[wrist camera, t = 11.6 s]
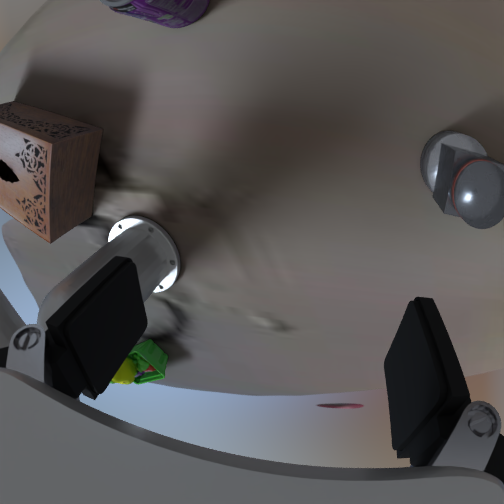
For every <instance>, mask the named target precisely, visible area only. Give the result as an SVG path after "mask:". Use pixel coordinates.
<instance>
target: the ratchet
mask: <svg viewBox="0 0 504 504" xmlns="http://www.w3.org/2000/svg"><path fill="white" fill-rule="evenodd" d="M441 143H443V144H447V145H451V146H455V147H458V148H462V149H466V150H469V151H472V152H476V153H479V154H482V155H486V156H487V153H486V151H485V150H484V148H483V147H482V145H481V144H480V143H479V142H478V141H477V140H475V139H474V138H472V137H470V136H468V135H465V134H462V133H459V132H456V131H442V132H439V133H437V134H435V135H434V136H433V137H431V138H430V139H429V141H428V142H427V143H426V145H425V147H424V149H423V151H422V155H421V161H420V168H421V173H422V177H423V180H424V182H425V183H426V185H427V186H428V188H429V189H430V190H431V191H432V192H434V186H435V181H436V175H437V169H438V163H439V156H440V149H441Z"/></svg>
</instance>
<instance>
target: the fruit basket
mask: <svg viewBox="0 0 504 504" xmlns="http://www.w3.org/2000/svg"><path fill="white" fill-rule="evenodd" d="M167 360H168V355H167V354H165V353H164V352H163V351H162V350H161V349H160V348H159V347H158V346H157V345H156V344H155V343H154V342H153V341H152V340H151V339H149V340H147V341H145V342H142V343H140V344H139V345H135V346H134V347H133V349H132V350H131V352H130V353H129V355H128V356H127V358H126V359H125V361H124V362H123V364H122V365H121V367H120V368H119V370H118V371H117V373H116V374H115V376H114V377H113V379H112V380H111V382H110V383H120V384H131V383H132V382H134V383H135V384H142V383H146V382H151V381H155V380H159V379H163V378H165V369H166V364H167Z"/></svg>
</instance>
